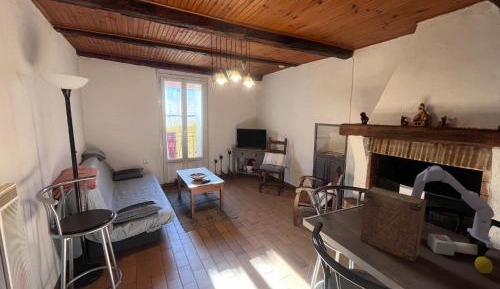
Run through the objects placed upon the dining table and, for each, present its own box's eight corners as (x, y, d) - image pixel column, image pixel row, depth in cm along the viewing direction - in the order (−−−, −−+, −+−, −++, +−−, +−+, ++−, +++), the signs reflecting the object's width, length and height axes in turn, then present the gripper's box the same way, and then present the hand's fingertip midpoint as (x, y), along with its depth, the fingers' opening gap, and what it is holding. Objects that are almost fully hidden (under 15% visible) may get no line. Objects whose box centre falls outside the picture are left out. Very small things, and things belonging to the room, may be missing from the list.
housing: (435, 253, 114) (436, 241, 113) (427, 243, 121) (428, 233, 120) (453, 255, 112) (455, 244, 111) (444, 246, 119) (446, 235, 118)
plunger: (439, 241, 115) (440, 238, 114) (436, 237, 117) (436, 235, 117) (446, 242, 114) (447, 239, 114) (443, 238, 117) (443, 236, 116)
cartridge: (452, 253, 113) (453, 244, 112) (446, 247, 118) (447, 239, 117) (483, 258, 110) (485, 248, 109) (476, 251, 114) (478, 243, 114)
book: (359, 240, 125) (364, 189, 120) (366, 234, 131) (371, 185, 126) (413, 263, 106) (421, 204, 101) (418, 255, 112) (426, 199, 107)
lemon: (469, 269, 102) (472, 253, 101) (480, 268, 103) (483, 252, 102) (483, 278, 97) (486, 261, 96) (494, 277, 97) (498, 261, 96)
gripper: (503, 236, 102) (498, 263, 104) (480, 221, 116) (476, 245, 118) (484, 234, 104) (479, 260, 106) (464, 219, 118) (460, 243, 120)
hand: (476, 252), depth 112 cm, fingers closed on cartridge, 5 cm apart
